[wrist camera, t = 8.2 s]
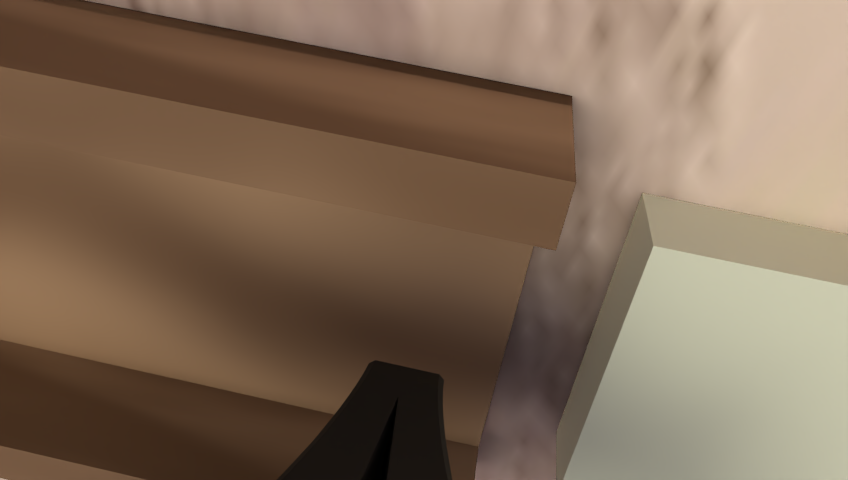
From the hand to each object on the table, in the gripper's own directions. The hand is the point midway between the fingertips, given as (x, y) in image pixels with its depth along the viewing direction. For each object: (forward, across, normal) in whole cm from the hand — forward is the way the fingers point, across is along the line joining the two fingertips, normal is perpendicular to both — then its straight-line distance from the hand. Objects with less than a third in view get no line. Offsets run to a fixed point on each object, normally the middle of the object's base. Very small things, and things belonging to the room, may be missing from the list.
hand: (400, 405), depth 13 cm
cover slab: (+4, -8, 0) cm, 9 cm away
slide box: (+3, +7, 0) cm, 8 cm away
